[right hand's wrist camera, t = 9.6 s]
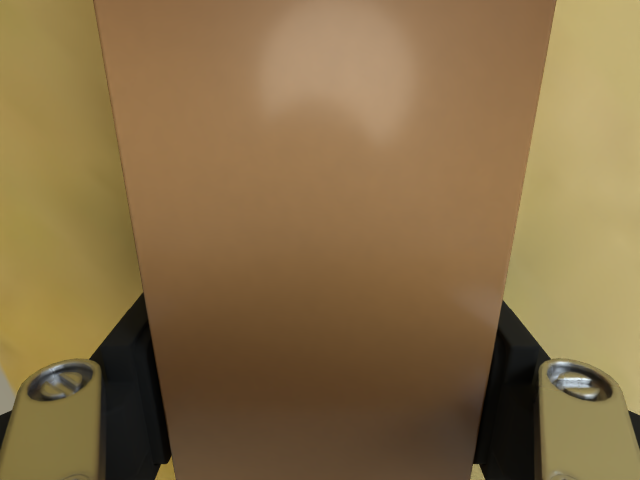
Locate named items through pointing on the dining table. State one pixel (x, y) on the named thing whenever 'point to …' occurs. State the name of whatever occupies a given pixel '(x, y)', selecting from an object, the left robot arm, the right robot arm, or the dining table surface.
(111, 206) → the dining table surface
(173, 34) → the post
